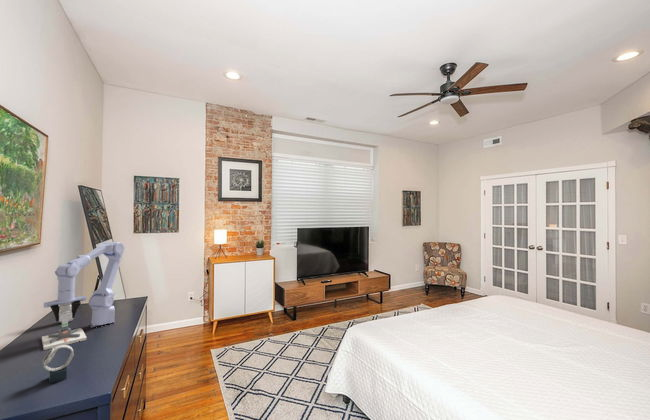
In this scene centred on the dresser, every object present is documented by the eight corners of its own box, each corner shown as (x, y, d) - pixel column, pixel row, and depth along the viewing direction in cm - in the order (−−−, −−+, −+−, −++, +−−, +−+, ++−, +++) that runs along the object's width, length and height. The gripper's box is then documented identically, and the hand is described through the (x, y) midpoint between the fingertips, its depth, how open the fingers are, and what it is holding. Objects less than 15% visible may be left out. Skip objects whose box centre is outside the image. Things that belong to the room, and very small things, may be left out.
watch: (41, 379, 97) (43, 347, 97) (72, 370, 102) (73, 340, 103) (40, 386, 93) (42, 353, 93) (73, 377, 98) (74, 345, 99)
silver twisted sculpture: (77, 320, 153) (78, 284, 153) (62, 325, 146) (63, 286, 147) (69, 319, 155) (71, 283, 156) (54, 323, 148) (56, 285, 149)
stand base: (81, 330, 139) (81, 321, 140) (86, 339, 129) (87, 330, 129) (41, 339, 129) (42, 329, 129) (43, 350, 118) (44, 339, 118)
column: (70, 323, 132) (71, 310, 132) (71, 326, 129) (72, 312, 129) (57, 326, 129) (58, 313, 129) (58, 328, 126) (59, 315, 126)
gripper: (83, 285, 138) (82, 313, 137) (42, 291, 126) (41, 321, 126) (88, 288, 134) (87, 316, 133) (46, 294, 122) (44, 325, 122)
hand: (65, 319), depth 129 cm, fingers closed on column, 5 cm apart
